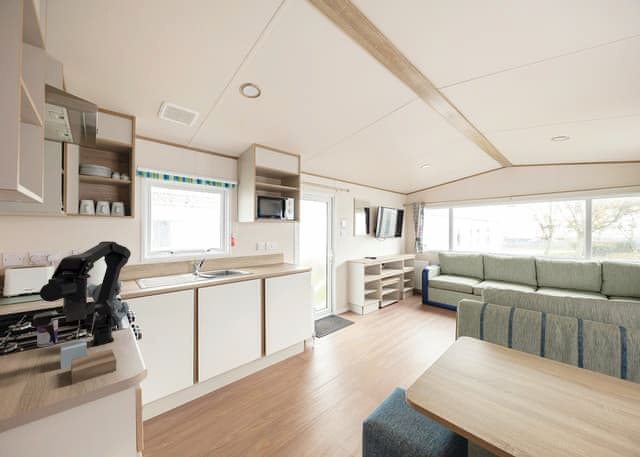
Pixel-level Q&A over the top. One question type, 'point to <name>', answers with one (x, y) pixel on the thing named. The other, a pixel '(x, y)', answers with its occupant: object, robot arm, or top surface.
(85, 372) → the walnut block
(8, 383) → the top surface
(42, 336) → the energy drink
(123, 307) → the koala plush
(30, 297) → the top surface
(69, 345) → the slate cube
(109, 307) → the robot arm
